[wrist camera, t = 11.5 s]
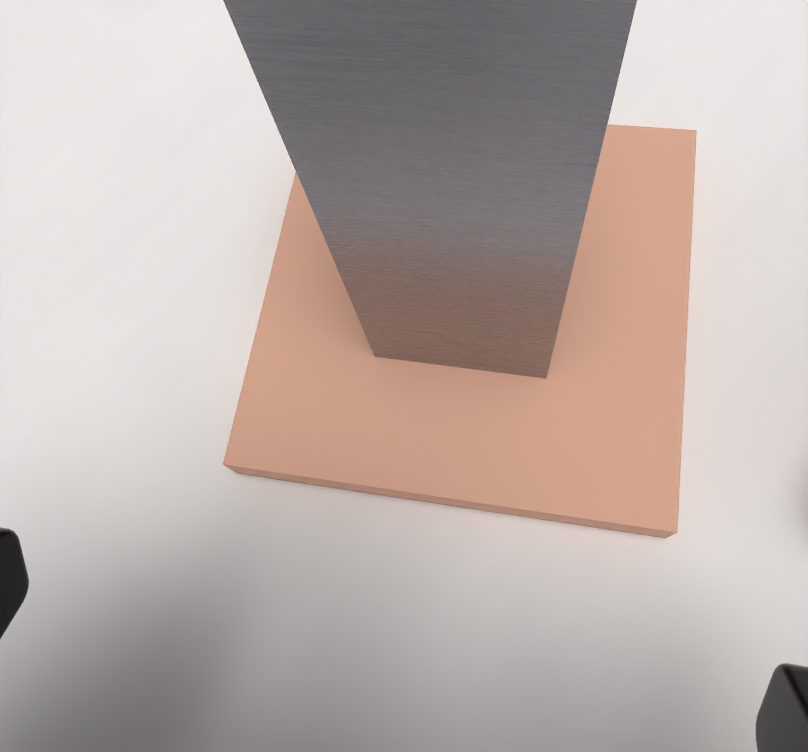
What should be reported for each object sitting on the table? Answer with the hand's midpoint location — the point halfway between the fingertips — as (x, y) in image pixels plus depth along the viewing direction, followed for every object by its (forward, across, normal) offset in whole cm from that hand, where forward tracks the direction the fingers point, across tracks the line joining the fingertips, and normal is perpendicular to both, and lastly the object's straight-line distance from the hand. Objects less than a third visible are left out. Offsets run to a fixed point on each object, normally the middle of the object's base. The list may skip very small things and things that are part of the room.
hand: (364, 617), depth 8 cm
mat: (+11, 0, 0) cm, 11 cm away
